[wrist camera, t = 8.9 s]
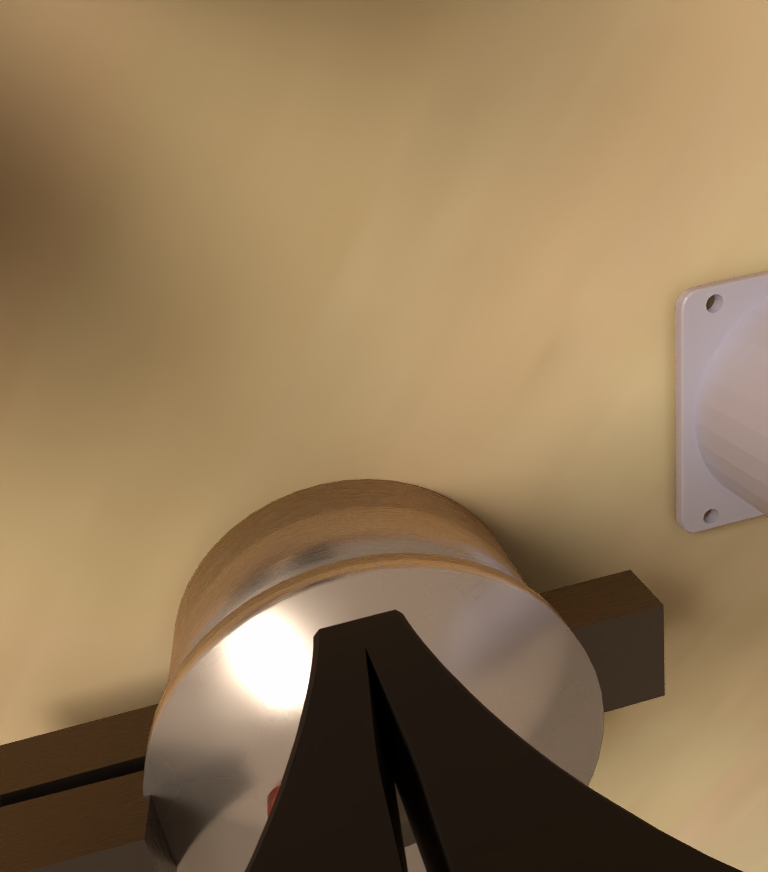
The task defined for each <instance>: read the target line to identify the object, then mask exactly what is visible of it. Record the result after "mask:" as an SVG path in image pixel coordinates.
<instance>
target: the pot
mask: <svg viewBox="0 0 768 872" xmlns="http://www.w3.org/2000/svg"><path fill="white" fill-rule="evenodd" d="M407 552H410V553H426V554H440V555H446V556H451V557H456V558H461V559H467V560H471V561H474V562H477V563H480V564H483V565H486V566H489V567H492V568H495V569H497V570H499V571H501V572H503V573H505V574H507V575H509V576H511V577H513V578H515V579H517V580H519V581H521V582H522V583H524V584H525V585H526V583H525V582H524V580H523V579H522V577H521V576H520V574H519V573H518V571H517V570H516V568H515V567H514V565H513V564H512V562H511V561H510V559H509V558H508V556H507V555H506V553H505V552H504V550H503V549H502V547H501V546H500V544H499V543H498V542H497V540H496V539H495V538H494V536H493V535H492V534H491V533H490V531H489V530H488V529H487V527H486V526H484V525H483V524H482V523H481V522H480V521H479V520H478V519H477V518H476V517H475V516H474V515H473V514H472V513H470V512H469V511H467V510H466V509H464V508H463V507H461V506H460V505H458V504H457V503H456V502H454V501H452V500H450V499H448V498H446V497H444V496H442V495H440V494H438V493H436V492H433V491H430V490H427V489H424V488H421V487H418V486H415V485H410V484H404V483H399V482H394V481H384V480H369V479H367V480H348V481H339V482H334V483H328V484H322V485H318V486H314V487H311V488H307V489H304V490H301V491H297V492H294V493H292V494H290V495H287V496H285V497H283V498H280V499H278V500H276V501H273V502H271V503H270V504H268V505H266V506H264V507H263V508H261V509H259V510H258V511H256V512H254V513H252V514H251V515H249V516H248V517H247V518H245V519H244V520H243V521H241V522H240V523H239V524H237V525H236V526H235V527H233V528H232V529H231V530H230V531H229V532H228V533H227V534H226V535H225V536H224V537H223V538H222V539H221V540H220V541H219V542H217V543H216V544H215V545H214V546H213V548H212V549H211V550H210V552H209V553H208V554H207V555H206V557H205V558H204V559H203V560H202V562H201V563H200V564H199V566H198V568H197V569H196V571H195V573H194V575H193V576H192V578H191V580H190V581H189V583H188V585H187V588H186V590H185V593H184V595H183V598H182V600H181V603H180V606H179V611H178V615H177V619H176V624H175V631H174V640H173V648H172V656H171V664H170V672H169V681H170V680H171V678H172V677H173V675H174V674H175V672H176V670H177V669H178V667H179V666H180V664H181V662H182V661H183V660H184V659H185V658H186V656H187V655H188V654H189V653H190V652H191V650H192V649H193V648H194V647H195V646H196V644H197V643H198V642H199V641H200V640H201V639H202V638H203V637H204V636H205V635H206V634H207V633H208V632H209V631H210V630H211V629H212V628H213V627H215V626H216V625H217V624H218V623H219V622H220V621H221V620H222V619H223V618H224V617H226V616H227V615H228V614H230V613H231V612H233V611H234V610H235V609H237V608H238V607H240V606H241V605H242V604H244V603H245V602H247V601H248V600H249V599H251V598H252V597H254V596H256V595H258V594H260V593H261V592H263V591H265V590H267V589H269V588H271V587H272V586H274V585H276V584H278V583H280V582H282V581H284V580H286V579H289V578H291V577H294V576H296V575H299V574H301V573H303V572H306V571H308V570H311V569H314V568H317V567H321V566H324V565H327V564H331V563H334V562H338V561H341V560H345V559H351V558H357V557H363V556H369V555H375V554H389V553H407ZM526 586H527V585H526ZM540 595H541V596H542V597H543V598H544V599H545V600H546V601H547V602H548V603H549V604H550V605H551V606H552V607H553V608H554V609H555V610H556V611H557V612H558V613H559V615H560V616H561V617H562V619H563V620H564V621H565V623H566V624H567V625H568V627H569V628H570V629H571V631H572V632H573V634H574V635H575V637H576V638H577V639H578V641H579V642H580V644H581V645H582V647H583V648H584V649H585V651H586V653H587V655H588V657H589V659H590V661H591V663H592V665H593V667H594V669H595V672H596V675H597V679H598V682H599V686H600V689H601V693H602V701H603V710H604V712H607V711H611V710H614V709H618V708H621V707H625V706H629V705H632V704H636V703H639V702H643V701H646V700H650V699H653V698H657V697H660V696H664V695H665V689H664V614H663V604H662V603H661V602H660V601H659V600H658V599H657V598H656V597H655V596H654V595H653V593H652V592H651V591H650V590H649V589H648V588H647V587H646V586H645V585H644V584H643V583H642V582H641V581H640V580H639V579H638V578H637V576H636V575H635V574H634V573H633V572H632V571H631V570H628V571H624V572H620V573H616V574H612V575H608V576H605V577H601V578H597V579H593V580H589V581H586V582H582V583H578V584H574V585H570V586H566V587H563V588H559V589H555V590H551V591H547V592H543V593H540ZM169 681H168V683H169ZM157 707H158V704H156V705H153V706H149V707H145V708H141V709H137V710H134V711H130V712H126V713H122V714H118V715H115V716H111V717H107V718H103V719H99V720H96V721H92V722H88V723H84V724H80V725H77V726H73V727H69V728H65V729H61V730H58V731H54V732H50V733H46V734H42V735H39V736H35V737H31V738H27V739H23V740H20V741H16V742H12V743H8V744H4V745H1V746H0V807H3V806H7V805H11V804H15V803H19V802H23V801H27V800H31V799H35V798H38V797H42V796H46V795H50V794H54V793H58V792H62V791H66V790H70V789H73V788H77V787H81V786H85V785H89V784H93V783H97V782H101V781H105V780H109V779H112V778H116V777H120V776H124V775H128V774H132V773H136V772H140V771H144V768H145V759H146V752H147V745H148V738H149V734H150V730H151V726H152V722H153V719H154V715H155V711H156V709H157Z"/></svg>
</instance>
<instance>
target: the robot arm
mask: <svg viewBox="0 0 768 872" xmlns="http://www.w3.org/2000/svg"><path fill="white" fill-rule="evenodd" d="M712 295H714V297H715V301H714V304H713V305H712V307H711V308H709V309H707V307H706V303H707V300H708V299H709V298H710V296H712ZM675 350H676V520H677V523H678V525H679V526H680V527H681V528H682V529H684V530H685V531H686V532H689V533H695V532H700V531H703V530H707V529H711V528H715V527H719V526H723V525H727V524H731V523H734V522H738V521H742V520H746V519H750V518H754V517H758V516H762V515H766V516H767V517H768V271H765V272H761V273H756V274H752V275H747V276H742V277H738V278H733V279H729V280H724V281H719V282H715V283H710V284H705V285H701V286H696V287H692V288H689V289H687V290H685V291H684V292H683V293H682V294H681V295H680V296H679V298H678V300H677V301H676V307H675ZM710 509H711V511H710V513H709V515H708V516H706V517H704V514H705V513H706V512H707V511H708V510H710ZM395 784H396V787H397V790H398V792H399V795H400V798H401V801H402V804H403V807H404V809H405V812H406V815H407V818H408V821H409V824H410V826H411V829H412V832H413V835H414V838H415V841H416V843H417V846H418V849H419V852H420V855H421V857H422V860H423V863H424V866H425V869H426V872H743V871H740V870H738V869H736V868H734V867H731V866H729V865H727V864H725V863H723V862H720V861H718V860H716V859H714V858H712V857H710V856H707V855H706V854H704V853H702V852H700V851H698V850H696V849H694V848H692V847H690V846H689V845H687V844H685V843H683V842H681V841H679V840H677V839H675V838H673V837H672V836H670V835H668V834H666V833H664V832H662V831H660V830H658V829H657V828H655V827H653V826H652V825H650V824H649V823H647V822H645V821H644V820H642V819H640V818H639V817H637V816H635V815H634V814H632V813H630V812H629V811H627V810H625V809H624V808H622V807H620V806H619V805H617V804H615V803H614V802H612V801H610V800H609V799H607V798H605V797H604V796H602V795H600V794H599V793H597V792H595V791H594V790H592V789H591V788H589V787H588V786H586V785H585V784H584V783H582V782H581V781H579V780H578V779H576V778H575V777H573V776H572V775H570V774H569V773H568V772H566V771H565V770H563V769H562V768H560V767H559V766H558V765H556V764H555V763H554V762H552V761H551V760H550V759H548V758H547V757H546V756H544V755H543V754H542V753H540V752H539V751H538V750H536V749H535V748H534V747H532V746H531V745H530V744H529V743H527V742H526V741H525V740H524V739H522V738H521V737H520V736H519V735H517V734H516V733H515V732H514V731H513V730H511V729H510V728H509V727H508V726H507V725H506V724H504V723H503V722H502V721H501V720H500V719H499V718H498V717H496V716H495V715H494V714H493V713H492V712H491V711H490V710H489V709H487V708H486V707H485V706H484V705H483V704H482V703H481V702H480V701H479V700H478V699H477V698H476V697H475V696H474V695H472V694H471V693H470V692H469V691H468V689H467V688H466V687H465V686H464V685H463V684H462V683H461V682H460V681H459V680H458V679H457V678H456V677H455V676H454V675H453V674H452V673H451V672H450V671H449V670H448V669H447V668H446V667H445V666H444V665H443V664H442V663H441V662H440V661H439V659H438V658H437V657H436V656H435V655H434V654H433V653H432V651H431V650H430V649H429V648H428V647H427V646H426V644H425V643H424V642H423V641H422V639H421V638H420V637H419V636H418V634H417V633H416V632H415V630H414V629H413V628H412V626H411V625H410V624H409V622H408V621H407V619H406V618H405V616H404V614H403V613H401V612H399V611H397V610H396V609H395V610H391V611H387V612H383V613H379V614H375V615H372V616H368V617H364V618H360V619H356V620H352V621H348V622H344V623H341V624H337V625H333V626H329V627H325V628H321V629H319V630H318V631H317V632H316V634H315V635H314V636H313V655H312V664H311V671H310V677H309V682H308V688H307V693H306V697H305V701H304V705H303V710H302V714H301V718H300V722H299V726H298V730H297V734H296V737H295V741H294V744H293V747H292V750H291V753H290V757H289V760H288V763H287V766H286V769H285V772H284V775H283V778H282V781H281V785H280V787H279V790H278V793H277V796H276V798H275V801H274V804H273V806H272V809H271V812H270V814H269V817H268V819H267V822H266V824H265V827H264V829H263V831H262V834H261V836H260V839H259V841H258V843H257V846H256V848H255V850H254V853H253V855H252V857H251V859H250V861H249V863H248V866H247V868H246V870H245V872H408V868H407V861H406V854H405V848H404V841H403V834H402V828H401V821H400V814H399V808H398V801H397V795H396V788H395Z"/></svg>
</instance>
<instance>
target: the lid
mask: <svg viewBox="0 0 768 872" xmlns="http://www.w3.org/2000/svg"><path fill="white" fill-rule="evenodd" d="M395 609H396V610H397V611H399V612H401V613H403V614H404V616H405V618H406V619H407V621H408V622H409V624H410V625H411V626H412V628H413V629H414V630H415V632H416V633H417V634H418V636H419V637H420V638H421V639H422V641H423V642H424V643H425V644H426V646H427V647H428V648H429V649H430V650H431V651H432V653H433V654H434V655H435V656H436V657H437V658H438V659H439V661H440V662H441V663H442V664H443V665H444V666H445V667H446V668H447V669H448V670H449V671H450V672H451V673H452V674H453V675H454V676H455V677H456V678H457V679H458V680H459V681H460V682H461V683H462V684H463V685H464V686H465V687H466V688H467V689H468V691H469V692H470V693H471V694H472V695H474V696H475V697H476V698H477V699H478V700H479V701H480V702H481V703H482V704H483V705H484V706H485V707H486V708H487V709H489V710H490V711H491V712H492V713H493V714H494V715H495V716H496V717H498V718H499V719H500V720H501V721H502V722H503V723H504V724H506V725H507V726H508V727H509V728H510V729H511V730H513V731H514V732H515V733H516V734H517V735H519V736H520V737H521V738H522V739H524V740H525V741H526V742H527V743H529V744H530V745H531V746H532V747H534V748H535V749H536V750H538V751H539V752H540V753H542V754H543V755H544V756H546V757H547V758H548V759H550V760H551V761H552V762H554V763H555V764H556V765H558V766H559V767H560V768H562V769H563V770H565V771H566V772H568V773H569V774H570V775H572V776H573V777H575V778H576V779H578V780H579V781H581V782H582V783H584V784H585V785H586V786H588V785H589V783H590V781H591V778H592V775H593V773H594V770H595V767H596V764H597V761H598V758H599V753H600V748H601V743H602V738H603V724H604V710H603V701H602V693H601V689H600V686H599V682H598V679H597V675H596V672H595V669H594V667H593V665H592V663H591V661H590V659H589V657H588V655H587V653H586V651H585V649H584V648H583V647H582V645H581V644H580V642H579V641H578V639H577V638H576V637H575V635H574V634H573V632H572V631H571V629H570V628H569V627H568V625H567V624H566V623H565V621H564V620H563V619H562V617H561V616H560V615H559V613H558V612H557V611H556V610H555V609H554V608H553V607H552V606H551V605H550V604H549V603H548V602H547V601H546V600H545V599H544V598H543V597H542V596H541V595H539V594H538V593H536V592H535V591H534V590H532V589H531V588H529V587H528V586H526V585H525V584H524V583H522V582H521V581H519V580H517V579H515V578H513V577H511V576H509V575H507V574H505V573H503V572H501V571H499V570H497V569H495V568H492V567H489V566H486V565H483V564H480V563H477V562H474V561H471V560H467V559H461V558H456V557H451V556H446V555H440V554H426V553H410V552H407V553H389V554H375V555H369V556H363V557H357V558H351V559H345V560H341V561H338V562H334V563H331V564H327V565H324V566H321V567H317V568H314V569H311V570H308V571H306V572H303V573H301V574H299V575H296V576H294V577H291V578H289V579H286V580H284V581H282V582H280V583H278V584H276V585H274V586H272V587H271V588H269V589H267V590H265V591H263V592H261V593H260V594H258V595H256V596H254V597H252V598H251V599H249V600H248V601H247V602H245V603H244V604H242V605H241V606H240V607H238V608H237V609H235V610H234V611H233V612H231V613H230V614H228V615H227V616H226V617H224V618H223V619H222V620H221V621H220V622H219V623H218V624H217V625H216V626H215V627H213V628H212V629H211V630H210V631H209V632H208V633H207V634H206V635H205V636H204V637H203V638H202V639H201V640H200V641H199V642H198V643H197V644H196V646H195V647H194V648H193V649H192V650H191V652H190V653H189V654H188V655H187V656H186V658H185V659H184V660H183V661H182V662H181V664H180V666H179V667H178V669H177V670H176V672H175V674H174V675H173V677H172V678H171V680H170V681H169V683H168V685H167V686H166V688H165V691H164V693H163V695H162V698H161V700H160V702H159V704H158V707H157V709H156V711H155V715H154V719H153V722H152V726H151V730H150V734H149V738H148V745H147V752H146V759H145V768H144V771H140V772H136V773H132V774H128V775H124V776H120V777H116V778H112V779H109V780H105V781H101V782H97V783H93V784H89V785H85V786H81V787H77V788H73V789H70V790H66V791H62V792H58V793H54V794H50V795H46V796H42V797H38V798H35V799H31V800H27V801H23V802H19V803H15V804H11V805H7V806H3V807H0V872H245V870H246V868H247V866H248V863H249V861H250V859H251V857H252V855H253V853H254V850H255V848H256V846H257V843H258V841H259V839H260V836H261V834H262V831H263V829H264V827H265V824H266V822H267V819H268V817H269V814H270V812H271V809H272V806H273V804H274V801H275V798H276V796H277V793H278V790H279V787H280V785H281V781H282V778H283V775H284V772H285V769H286V766H287V763H288V760H289V757H290V753H291V750H292V747H293V744H294V741H295V737H296V734H297V730H298V726H299V722H300V718H301V714H302V710H303V705H304V701H305V697H306V693H307V688H308V682H309V677H310V671H311V664H312V655H313V636H314V635H315V634H316V632H317V631H318V630H319V629H321V628H325V627H329V626H333V625H337V624H341V623H344V622H348V621H352V620H356V619H360V618H364V617H368V616H372V615H375V614H379V613H383V612H387V611H391V610H395ZM395 788H396V795H397V801H398V808H399V814H400V821H401V828H402V834H403V841H404V848H405V854H406V861H407V868H408V872H426V869H425V866H424V863H423V860H422V857H421V855H420V852H419V849H418V846H417V843H416V841H415V838H414V835H413V832H412V829H411V826H410V824H409V821H408V818H407V815H406V812H405V809H404V807H403V804H402V801H401V798H400V795H399V792H398V790H397V787H396V784H395Z"/></svg>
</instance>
